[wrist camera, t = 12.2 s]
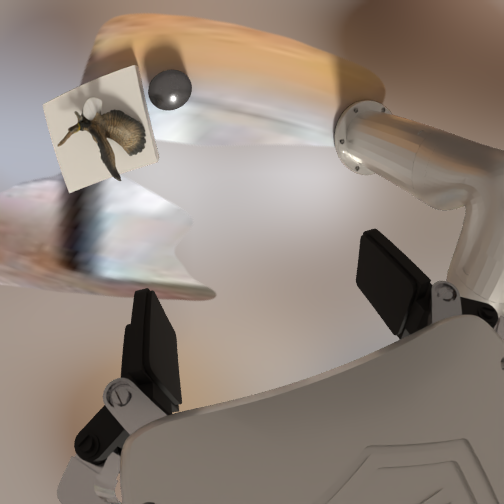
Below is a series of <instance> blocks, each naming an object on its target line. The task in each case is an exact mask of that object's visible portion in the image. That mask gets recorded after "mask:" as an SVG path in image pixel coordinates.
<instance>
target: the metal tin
mask: <svg viewBox="0 0 504 504" xmlns="http://www.w3.org/2000/svg"><path fill="white" fill-rule="evenodd" d="M191 91H192V85H191V82H190V79H189V78H188V77H187V75H185V74H184V73H183V72H181V71H178V70H166V71H163V72H161V73H159V74H158V75H156V76H155V77H154V78H153V80H152V81H151V83H150V85H149V90H148V94H149V98H150V101H151V102H152V103H153V105H155V106H156V107H157V108H159V109H162V110H174V109H177V108H179V107H181V106H183V105H184V104H185V103H186V102H187V101H188V99H189V97H190V95H191Z"/></svg>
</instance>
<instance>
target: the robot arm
mask: <svg viewBox="0 0 504 504" xmlns="http://www.w3.org/2000/svg"><path fill="white" fill-rule="evenodd" d="M353 110H354V111H353ZM335 147H336V151H337V154H338V157H339V158H340V160H341V162H342V163H343V164H344V165H345V166H346V167H347V168H348V169H350V170H351V171H353V172H355V173H357V174H361V175H372V174H375V173H376V174H378V175H379V176H381V177H383V178H385V179H386V180H388V181H390V182H392V183H393V184H395V185H396V186H398V187H400V188H401V189H403V190H405V191H406V192H408V193H409V194H411V195H413V196H414V197H416V198H417V199H419V200H420V201H422V202H424V203H425V204H427V205H428V206H430V207H432V208H434V209H437V210H442V211H447V210H453V209H457V208H460V207H463V206H465V208H466V213H465V218H464V222H463V227H462V230H461V234H460V236H459V239H458V242H457V245H456V248H455V251H454V254H453V257H452V260H451V263H450V266H449V269H448V273H447V279H446V281H438V282H436V283H434V284H433V285H432V284H431V283H430V281H431V280H430V279H429V278H428V277H427V276H426V275H425V274H424V273H423V272H422V271H421V270H420V269H419V268H418V267H417V266H416V265H415V264H414V263H413V262H412V261H411V260H410V259H409V258H408V257H407V256H406V255H405V254H404V253H402V251H400V250H399V249H398V248H397V247H396V246H395V245H394V244H393V243H392V242H391V241H390V240H388V239H387V238H386V237H385V236H384V235H383V234H382V233H380V232H379V231H378V230H377V229H371V230H368V231H365V232H364V233H363V235H362V236H361V239H360V249H359V259H358V268H357V275H356V283H357V286H358V287H359V289H360V290H361V291H362V293H363V294H364V295H365V296H366V298H367V299H368V300H369V302H370V303H371V304H372V306H373V307H374V308H375V310H376V311H377V312H378V314H379V315H380V316H381V318H382V319H383V320H384V322H385V323H386V325H387V326H388V327H389V329H390V330H391V332H392V333H393V334H394V335H397V336H398V337H399V339H400V340H399V341H397V342H394V343H392V344H390V345H388V346H386V347H384V348H382V349H380V350H377V351H375V352H373V353H371V354H368V355H366V356H364V357H361V358H359V359H357V360H354V361H352V362H349V363H347V364H344V365H342V366H339V367H337V368H334V369H332V370H329V371H326V372H324V373H321V374H318V375H316V376H313V377H310V378H307V379H304V380H301V381H298V382H295V383H292V384H289V385H285V386H282V387H279V388H276V389H272V390H269V391H265V392H262V393H258V394H255V395H251V396H247V397H243V398H240V399H235V400H231V401H228V402H223V403H219V404H215V405H210V406H205V407H201V408H196V409H192V410H187V411H183V412H179V413H175V414H172V412H177V411H179V406H178V404H182V397H181V388H180V378H179V366H178V354H177V339H176V334H175V331H174V329H173V327H172V325H171V323H170V322H169V320H168V318H167V316H166V314H165V312H164V310H163V308H162V306H161V304H160V302H159V300H158V298H157V296H156V294H155V292H154V291H150V290H149V289H148V288H146V289H142V290H138V291H135V294H134V302H133V309H132V318H131V324H128V325H127V326H126V328H125V335H124V344H123V355H122V368H121V378H118V379H115V380H113V381H112V382H110V383H109V384H108V385H107V386H106V388H105V390H104V394H103V401H104V404H105V405H104V407H103V408H102V409H101V410H100V411H99V412H98V413H97V414H96V415H95V416H94V417H93V418H92V419H91V420H90V422H89V423H88V424H87V425H86V426H85V427H84V428H83V429H82V430H81V431H80V432H79V433H78V435H77V436H76V439H75V445H74V447H75V451H76V455H75V457H73V456H72V457H71V459H70V461H69V463H68V465H67V468H66V470H65V472H64V474H63V477H62V479H61V481H60V483H59V486H58V489H57V496H58V499H59V501H60V502H61V503H62V504H122V503H123V504H504V150H500V149H497V148H493V147H490V146H487V145H483V144H480V143H477V142H474V141H471V140H468V139H466V138H463V137H460V136H457V135H455V134H452V133H449V132H447V131H444V130H441V129H438V128H435V127H432V126H429V125H426V124H423V123H419V122H416V121H413V120H409V119H406V118H402V117H398V116H395V115H393V114H392V113H391V111H390V110H389V109H388V108H387V107H386V106H384V105H383V104H381V103H378V102H376V101H371V100H362V101H358V102H356V103H354V104H352V105H350V106H349V107H348V108H347V109H346V110H345V111H344V112H343V113H342V115H341V117H340V118H339V120H338V123H337V126H336V130H335ZM119 473H120V485H121V495H122V503H121V502H120V501H118V499H117V497H116V495H115V487H116V484H117V482H118V481H117V480H116V478H117V476H118V474H119Z"/></svg>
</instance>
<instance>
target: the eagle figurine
mask: <svg viewBox="0 0 504 504" xmlns="http://www.w3.org/2000/svg"><path fill="white" fill-rule="evenodd" d="M101 108H102V100H101V99H98V98H96V97H90V98H89V99H87V100H86V101H85V104H84V106H83V109H82V114H81V115H80V114H79V113H78V112H77V111H75V112H74V113H75V115H76V116H77V118H78V123H77V124H76V125H74V126H72V127H70V128H68V131H69V132H68V133H67V134H66V136H65V137H64V138H63V139H62V140H61V141H60V142H59V144H58V145H57V146H58V147H59V146H61V145H63V144H64V143H65V142H66V140H67V139H68V138H70V136H71V135H72V134H74V133H76V132H78V131H87V132H89V133H90V134H91V135H92V138H93V140H94V141H95V142H96V143H97V145H98V147H99V149H100V153H101V160H102V162H103V163H104V164H105V166H106V167H107V169H108V171H109V172H110V173H111V175H112V176H113V177H114V178H115V179H117V180H118V181H121V177H120V175H119V173H118V171H117V169H116V163H115V154H114V152H113V150H112V147H111V145H110V143H109V142H108V140H107V138H109V139H111V140H114V141H115V142H116V143H118V144H119V145H120V146H122V147H123V149H124V150H125V151H126V153H127V154H128V155H129V156H132V155H137V153H138V152H139V153H141V152H142V149H145V145H144V144H145V143H146V139H145V138H144V137H146V134H145V133H144V132H145V129H144V127H143V126H142V124H141V123H140V122H139V121H136V119H134V118H131V117H130V116H128V115H127V114H125V113H124V112H122V111H120V110H115V109H114V110H111V111H110V112H107V113H106V114H105V113H104V114H103V115H101Z"/></svg>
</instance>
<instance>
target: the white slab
mask: <svg viewBox="0 0 504 504" xmlns="http://www.w3.org/2000/svg"><path fill="white" fill-rule="evenodd" d="M90 97H96V98H98V99H101V100H102V108H101V115H103V114H104V113H105V114H106V113H107V112H110V111H111V110H114V109H115V110H120V111H122V112H124V113H125V114H127V115H128V116H130V117H131V118H134V119H136V121H139V122H140V123H141V124H142V126H143V127H144V129H145V132H144V133H145V134H146V137H144V138H145V139H146V143H145V144H144V145H145V149H142V152H141V153H139V152H138V153H137V155H132V156H129V155H128V154H127V153H126V151H125V150H124V149H123V147H122V146H120V145H119V144H118V143H116V142H115V141H114V140H111V139H109V138H107V140H108V142H109V143H110V145H111V147H112V150H113V152H114V154H115V163H116V169H117V171H118V173H119V174H122V173H125V172H128V171H131V170H134V169H137V168H140V167H144V166H147V165H150V164H154V163H157V162H158V159H159V154H158V151H157V146H156V142H155V138H154V134H153V130H152V126H151V122H150V118H149V113H148V109H147V104H146V100H145V95H144V91H143V86H142V81H141V76H140V71H139V67H138V66H136V65H133V66H130V67H127V68H124V69H121V70H118V71H115V72H113V73H110V74H107V75H105V76H102V77H100V78H97V79H95V80H92V81H90V82H88V83H85V84H83V85H81V86H79V87H77V88H74V89H72V90H70V91H68V92H66V93H64V94H62V95H60V96H58V97H56V98H54V99H52V100H50V101H49V102H47V103H45V104H43V109H44V113H45V117H46V121H47V125H48V129H49V132H50V136H51V140H52V143H53V146H54V150H55V153H56V156H57V159H58V163H59V165H60V169H61V171H62V174H63V177H64V180H65V183H66V185H67V188H68V191H69V193H71V192H74V191H76V190H79V189H81V188H84V187H86V186H89V185H91V184H94V183H97V182H99V181H102V180H105V179H108V178H111V177H113V176H112V175H111V173H110V172H109V171H108V169H107V167H106V166H105V164H104V163H103V162H102V160H101V153H100V149H99V147H98V145H97V143H96V142H95V141H94V140H93V138H92V135H91V134H90V133H89V132H87V131H78V132H76V133H74V134H72V135H71V136H70V138H68V139H67V140H66V142H65V143H64V144H63V145H61V146H59V147H58V146H57V145H58V144H59V142H60V141H61V140H62V139H63V138H64V137H65V136H66V134H67V133H68V132H69V131H68V128H70V127H72V126H74V125H76V124H77V123H78V118H77V116H76V115H75V113H74V112H75V111H77V112H78V113H79V114H80V115H81V114H82V109H83V106H84V104H85V101H86V100H87V99H89V98H90Z"/></svg>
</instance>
